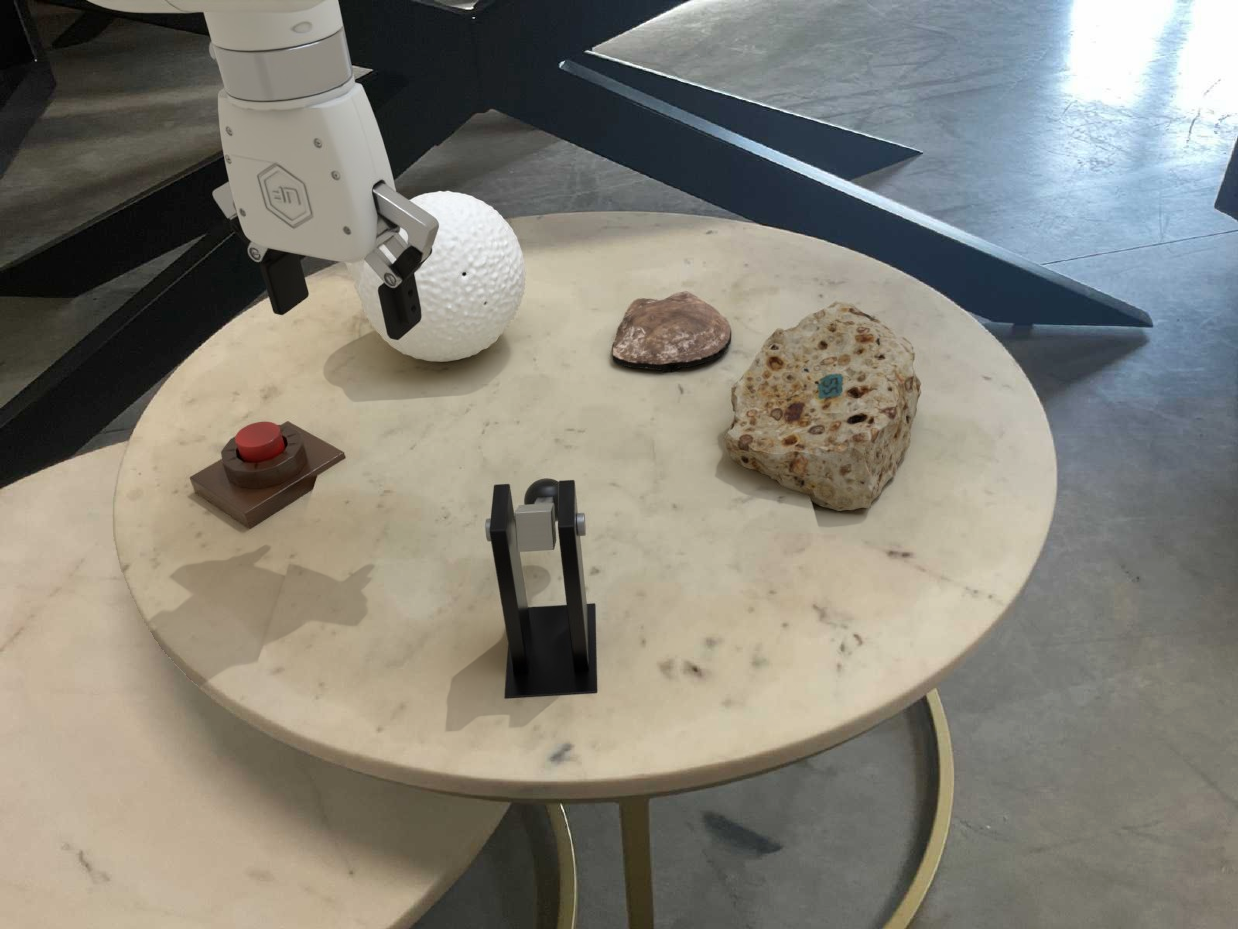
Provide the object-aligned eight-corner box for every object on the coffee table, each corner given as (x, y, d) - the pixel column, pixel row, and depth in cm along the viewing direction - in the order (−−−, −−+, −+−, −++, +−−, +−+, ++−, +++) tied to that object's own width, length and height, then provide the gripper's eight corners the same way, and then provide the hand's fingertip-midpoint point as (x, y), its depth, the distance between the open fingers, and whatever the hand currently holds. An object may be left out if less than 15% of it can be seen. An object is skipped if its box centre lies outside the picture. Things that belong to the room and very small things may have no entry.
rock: (899, 535, 79) (879, 436, 74) (725, 525, 86) (694, 434, 80) (943, 373, 93) (929, 278, 87) (790, 376, 100) (767, 289, 94)
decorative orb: (511, 407, 94) (488, 247, 85) (327, 401, 97) (284, 245, 87) (549, 300, 110) (534, 155, 100) (390, 298, 112) (360, 156, 103)
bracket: (512, 619, 73) (487, 466, 65) (596, 614, 73) (582, 460, 65) (506, 709, 67) (478, 552, 58) (598, 704, 67) (583, 546, 58)
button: (257, 469, 84) (251, 452, 83) (232, 454, 86) (226, 436, 84) (293, 447, 86) (288, 430, 85) (268, 433, 88) (262, 416, 87)
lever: (527, 520, 74) (524, 476, 74) (571, 518, 74) (568, 474, 74) (509, 559, 62) (505, 506, 61) (562, 556, 61) (559, 503, 61)
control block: (250, 530, 82) (238, 496, 80) (194, 492, 87) (181, 459, 85) (348, 467, 88) (339, 434, 86) (292, 435, 93) (282, 403, 90)
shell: (742, 313, 106) (743, 282, 104) (719, 380, 96) (720, 347, 94) (633, 304, 108) (632, 273, 106) (601, 368, 99) (599, 335, 97)
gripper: (131, 72, 61) (215, 322, 72) (368, 99, 55) (422, 368, 66) (218, 36, 67) (284, 274, 77) (443, 57, 61) (482, 313, 71)
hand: (347, 317), depth 72 cm, fingers open, 9 cm apart
